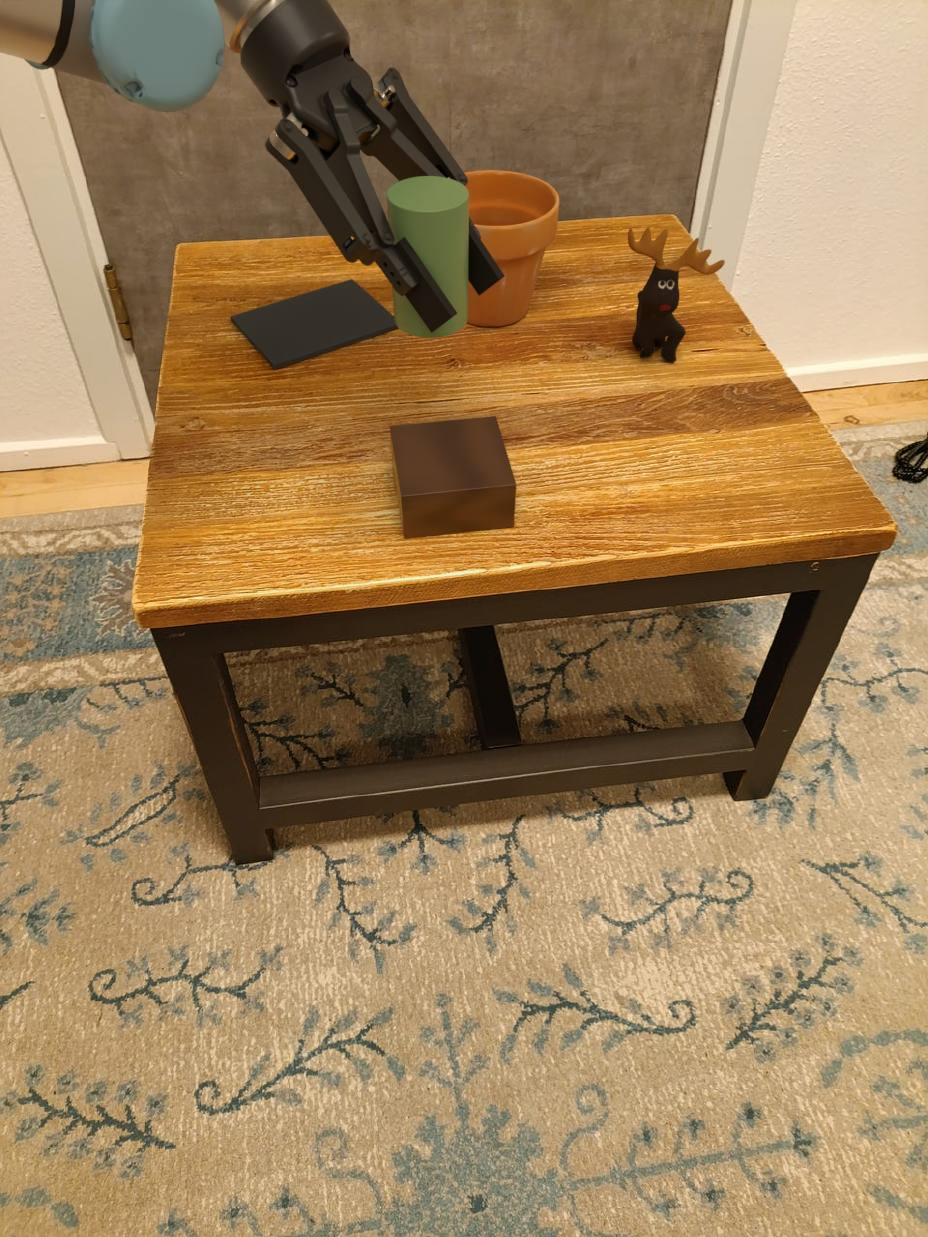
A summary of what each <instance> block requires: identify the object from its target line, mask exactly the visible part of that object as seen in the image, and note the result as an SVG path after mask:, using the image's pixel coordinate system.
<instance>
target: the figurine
mask: <svg viewBox="0 0 928 1237" xmlns="http://www.w3.org/2000/svg"><path fill="white" fill-rule="evenodd" d="M668 234H669V231H668V229H665V230H663V231H662V232H661V233H660V234H659V235H657V237H656V238H655V239H654V240H652V232H651V228H650V227H646V229H644V232H642V235H641V237H640V239H639V241H637V242H636V240H635V235H634V231H633V227H629V229H628V232H627V245H628V246H629V248H630V250H631V251H633V252H634V253H637V254H639V255H642V256H646V257H648V258H650V259H652V260H653V261H654V262H655V263H654V265H653V267H652V270H651V273H650V275H649V277H648V280H647V281H646V283H645V284H644V285H643V288H642V290H640V291H638V293H637V300H638V301H637V309H636V314H635V315H636V317H635V318H636V326H635V330H634V332H633V334H632V338H631V343H632V346H633V347H634V348H635V349H638V350H641V349H642V350H641V352H640V354H639V358H641V359H649V358H651V357H652V356H653V355H654V354H655V351H656V349H661V350H660V356H661V358H662V359H663V360H665V361H667V362H670V363H675V362H676V361H677V356H676V355H677V350H678V348H679V346H680V343H681V342H682V340H683V339H684V338H685V336H686V333H687V332H686V329H685V327H684V326H683V325H682V324H681V323H680V322H679V321H678V320H677V319H676V317H675V316H674V314H673V313H674V312H675V311H676V310H677V309H678V306H679V303H680V289H679V278H680V277H679V276H680V269H681V268H682V267H689V268H690V269H692V270H694V271H696V272H697V273H700V274H702V275H706V276H707V275H713V274H715V273H717V272H719V270H721V269H722V268H723V267H724V265H725V263H726V262H725V261H726V260H725V259H720V260H718V261H715V263H713V264H710V265H706V264H705V263H706V262H707V260H708V259H709V257H710V256H711V254H712V249H710V248H709V249H708V248H707V249H704V250H702V251H699V252H697V249H698V244H699V241H700V240H699V239H700V238H699V237H696V238H694V240H693V241H692V242H691V244H690V245H689V246H688V247H687V249H686V250H685V252H683V254H681V255H680V256H679V258H677V259H676V260H674V261H673V262H671V263H666V264H665V262H664V258H663V253H664V250H665V246H666V242H667V239H668V236H669V235H668ZM696 252H697V253H696Z"/></svg>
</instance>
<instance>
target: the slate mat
mask: <svg viewBox="0 0 928 1237" xmlns="http://www.w3.org/2000/svg"><path fill="white" fill-rule="evenodd" d="M229 316H230V317H229V319H230V321H231V323H232V324H233V325H234V326H235V327H236V328H237V330H238V331H239V332H240V333H241V334H242V335H243V336H244V338H246V340H248V342H249V343H250V344H251V345H252V346H253V348H255V349H256V351H257V352H258V353H259V354H260V355H261V357H262V358H264V360H265V361H266V362H267V363H268V364H269V365H270V367H272V369H273V370H275V371H276V370H278V369H281V368H285V367H288V366H290V365H293V364H297V363H299V362H303V361H305V360H308V359H311V358H315V357H318V356H320V355H323V354H327V353H329V352H332V351H335V350H338V349H341V348H344V347H347V346H350V345H354V344H356V343H359V342H362V341H365V340H367V339H371V338H374V337H377V336H380V335H382V334H383V335H384V334H386V333H389V332H391V331H395V330H399V328H398V326H397V325H396V323H395V321H394V314H393V313H391V312H390V311H389V310H388V309H387V308H385V307H384V306H383V305H382V304H381V303H380V302H379V301H378V300H376V298H374V297H373V296H372V295H371V294H370V293H368V292H367V290H365V289H364V288H363V287H362V286H361V285H360V284H359V283H357V282H356V281H355V280H354V279H353V278H350V279H348V280H344V281H341V282H338V283H335V284H330V285H328V286H325V287H322V288H321V287H320V288H318V289H315V290H312V291H308V292H305V293H302V294H298V295H295V296H292V297H289V298H285V299H282V300H279V301H276V302H273V303H270V304H266V305H262V306H259V307H255V308H253V309H250V310H246V311H242V312H239V313H236V314H233V315H229Z"/></svg>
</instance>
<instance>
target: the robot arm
mask: <svg viewBox="0 0 928 1237" xmlns="http://www.w3.org/2000/svg"><path fill="white" fill-rule="evenodd" d="M350 44H351V38H350V33H349V31H348V29H347V28H346V26H345V25H344V22H342V20H341V19H340V17H339V15H338V14H337V13H336V11H335V10H334V8H333V7H332V5H331V3H330V2H329V1H328V0H0V53H2V54H5V55H8V56H11V57H12V56H13V57H15V58H19V59H22V60H24V61H25V62H26V63H27V64H28V65H29V66H31V67H32V68H34V69H36V70H40V71H43V70H44V71H45V70H49V69H50V68H51V69H53V70H55V71H59V72H63V73H66V74H68V75H69V74H70V75H72V76H76V77H79V78H83V79H87V80H90V81H94V82H97V83H99V84H100V83H101V84H103V85H106V86H109V87H110V88H111V89H112V90H113V91H114V92H115V93H116V94H118V95H120V96H121V97H122V98H124V100H126V101H129V102H131V103H134V104H137V105H140V106H142V107H143V108H145V109H148V110H151V111H154V112H161V113H175V112H180V111H183V110H186V109H188V108H191V107H193V106H195V105H196V104H198V103H199V102H200V101H202V100H203V99H204V98H205V97H206V96H207V95H208V94H209V93H210V92H211V91H212V89H213V87H214V86H215V84H216V82H217V80H218V78H219V76H220V73H221V71H222V67H223V66H222V65H223V63H224V54H225V47H226V46H227V47H228V49H229V50H230V51H231V52H233V53H234V54H238V55H239V56H240V57H239V58H240V66H241V68H242V69H243V71H244V72H245V74H246V75H247V76H248V78H249V79H250V80H251V82H252V83H253V85H254V86H255V87H256V89H257V90H258V92H259V93H260V95H261V96H262V97H263V99H264V100H265V102H266V103H267V104H268V105H269V106H271V107H273V108H279V110H280V112H281V116H282V118H281V119H280V121H278V123H277V125H276V126H275V127H274V129H273V130H272V132H271V133H270V134H269V136H268V137H267V139H266V140H265V142H264V146H265V149H266V152H268V153H269V154H270V155H271V156H272V157H273V158H274V159H275V160H276V161H277V162H278V163H279V164H280V165H281V166H282V167H283V168H284V169H285V170H287V171H288V173H289V174H290V176H291V177H292V180H293V181H294V183H295V184H296V185H297V187H298V189H299V190H300V191H301V193H302V195H303V196H304V198H305V199H306V201H307V202H308V204H309V206H310V207H311V209H312V210H313V212H314V213H315V214H316V216H317V218H318V219H319V221H320V223H321V224H322V226H323V227H324V229H325V230H326V231H327V234H328V235H329V236H330V238H331V240H332V241H333V243H334V244H335V245H336V247H337V249H338V250H339V251H340V253H341V255H342V257H343V258H344V259H345V261H346V262H348V263H350V264H355V263H356V262H358V260H359V261H360V263H361V264H362V265H364V266H366V267H370V266H371V265H373V264H374V263H375V264H376V265H377V267H378V268H379V269H380V271H381V272H382V273H383V275H384V277H385V278H386V279H387V280H388V282H389V283H390V285H391V287H392V286H393V288H394V289H395V290H396V292H397V293H398V294H400V295H401V296H404V295H405V296H406V297H407V299H408V300H409V302H410V303H411V305H412V306H413V307H414V309H415V310H416V312H417V313H418V315H419V316H420V317H421V319H422V320H423V322H424V323H425V325H426V326H427V327H428V329H429V330H430V332H431V333H432V332H434V331H435V330H436V329H438V328H439V327H440V326H442V325H443V324H444V323H446V322H447V321H448V320H450V319H451V318H452V317H454V316H455V315H456V314H457V312H456V310H455V309H454V307H453V306H452V304H451V303H450V302H449V300H448V299H447V297H446V296H445V294H444V293H443V291H442V290H441V288H440V287H439V286H438V284H437V283H436V281H435V280H434V278H433V277H432V275H431V274H430V272H429V271H428V270H427V268H426V267H425V265H424V264H423V262H422V261H421V259H420V258H419V257H418V255H417V254H416V252H415V251H414V249H413V248H412V246H411V245H410V243H409V242H408V241H407V239H406V238H405V237H404V238H403V239H401V240H400V241H398V242H397V243H396V244H395V245H394V241H395V238H394V235H393V233H392V230H391V228H390V225H389V223H388V217H387V216H386V214H385V211H384V209H383V206H382V203H381V202H380V199H379V197H378V195H377V193H376V190H375V187H374V185H373V183H372V180H371V178H370V176H369V173H368V171H367V169H366V166H365V164H364V161H363V159H362V156H361V152H362V153H363V154H364V155H365V156H367V157H374V158H375V159H376V160H377V161H378V162H379V163H380V164H381V165H382V166H383V167H384V168H385V169H386V170H387V171H388V172H389V173H390V174H391V175H392V176H393V177H395V179H396V180H397V181H398V182H399V181H401V180H404V179H408V178H412V177H420V176H438V177H445V178H450V179H453V180H455V181H458V182H460V183H461V184H463V185H464V186H466V185H467V183H468V179H467V176H466V175H465V173H466V172H464V170H463V169H462V168H461V166H460V164H459V163H458V162H457V161H456V159H455V157H454V156H453V155H452V154H451V152H450V151H449V150H448V148H447V147H446V144H444V142H443V141H442V139H441V138H440V136H439V135H438V134H437V132H436V131H435V130H434V128H433V127H432V125H431V124H430V122H429V121H428V120H427V118H426V117H425V115H424V114H423V113H422V112H421V110H420V109H419V107H418V106H417V104H416V103H415V101H413V99H412V98H411V96H410V94H409V92H408V88H407V87H406V85H405V82H404V80H403V77H402V75H401V73H400V72H399V71H398V70H397V69H396V68H395V67H389V68H388V69H387V70H386V72H384V74H382V75H370V73H369V72H368V71H367V70H366V69H365V68H363V66H361V65H360V64H359V63H358V62H357V61H356V59H354V57H353V56H352V54H351V48H350ZM225 45H226V46H225ZM503 277H504V274H503V273H502V271H501V270H500V268H499V267H498V265H497V264H496V262H495V261H494V259H493V257H492V256H491V254H490V253H489V251H488V250H487V248H486V247H485V245H484V244H483V242H482V241H481V236H480V233H479V231H478V229H477V228H476V226H474V223H473V222H472V221H471V219H470V217H469V253H468V280H469V282H470V283H471V285H472V286H473V288H474V289H475V291H476V292H477V294H478V295H479V296H480V295H481V294H482V293H484V292H485V291H486V290H487V289H489V288H490V287H491V286H493V285H494V284H495V283H497V282H498V281H499V280H501V279H502V278H503Z"/></svg>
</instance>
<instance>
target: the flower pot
mask: <svg viewBox="0 0 928 1237" xmlns="http://www.w3.org/2000/svg"><path fill="white" fill-rule="evenodd" d="M464 173H465V175H466V176H467V179H468V183H467V185H466V186H465V187H466V188H467V189H468V192H469V217H470V219H471V221H472V222H473V223H474V226H476V228H477V229H478V231H479V233H480V236H481V241H482V242H483V244H484V245H485V247H486V248H487V250H488V251H489V253H490V254H491V256H492V257H493V259H494V261H495V262H496V264H497V265H498V267H499V268H500V270H501V271H502V273H503V274H504V277H503V278H502V279H501V280H499V281H498V282H497V283H495V284H494V285H493V286H491V287H490V288H489V289H487V290H486V291H485V292H484V293H482V294H481V295H480V296H479V295H478V294H477V292H476V291H475V289H474V288H473V286H472V285H471V283H470V282H469V280H468V321H467V323H468V324H471V325H474V326H479V327H496V328H497V327H505V326H509V325H512V324H515V323H517V322H519V321H521V320H522V319H523V318H525V317H526V315H527V314H528V312H529V308H530V305H531V302H532V299H533V295H534V291H535V288H536V285H537V281H538V278H539V275H540V274H539V273H540V270H541V267H542V263H543V261H544V260H543V259H544V256H545V252H546V249H547V248H548V247H549V246H550V245H551V244H552V243H553V241H554V240H555V238H556V234H557V230H558V221H559V212H560V202H561V200H560V197H559V193H558V192H557V190H556V189H555V188H554V187H553V186H552V185H551V184H549V183H548V182H546V181H545V180H543V179H542V178H541V179H540V178H538V177H535V176H533V175H529V174H526V173H521V172H516V171H509V170H497V169H495V170H494V169H493V170H492V169H491V170H490V169H489V170H488V169H487V170H485V169H484V170H474V171H467V172H464ZM448 178H449V177H448ZM449 179H450V178H449Z"/></svg>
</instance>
